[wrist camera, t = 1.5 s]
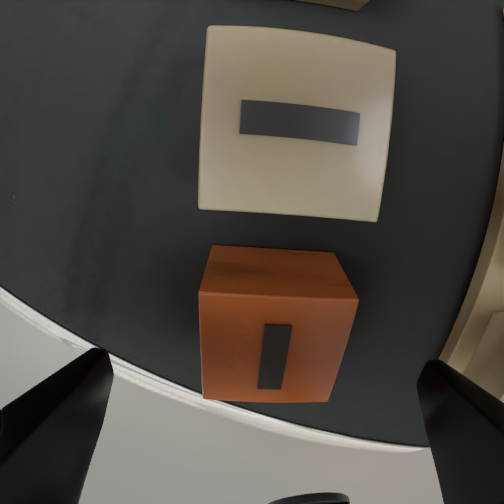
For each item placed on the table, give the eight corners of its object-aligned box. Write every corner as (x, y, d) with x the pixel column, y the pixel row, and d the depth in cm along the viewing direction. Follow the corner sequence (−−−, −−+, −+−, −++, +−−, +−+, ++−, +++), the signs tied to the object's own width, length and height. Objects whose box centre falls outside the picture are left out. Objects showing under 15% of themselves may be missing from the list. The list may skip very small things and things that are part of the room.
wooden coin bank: (314, 345, 12) (328, 404, 9) (211, 341, 12) (202, 401, 9) (333, 251, 10) (361, 301, 7) (211, 244, 10) (197, 293, 7)
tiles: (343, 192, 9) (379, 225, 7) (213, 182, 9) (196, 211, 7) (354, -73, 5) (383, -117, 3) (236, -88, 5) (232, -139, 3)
